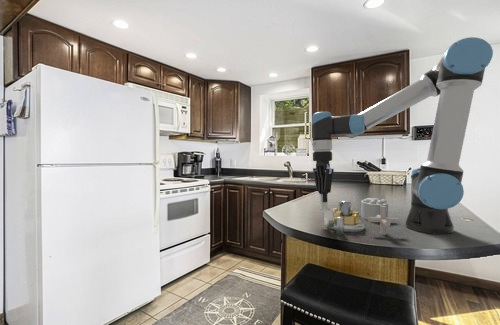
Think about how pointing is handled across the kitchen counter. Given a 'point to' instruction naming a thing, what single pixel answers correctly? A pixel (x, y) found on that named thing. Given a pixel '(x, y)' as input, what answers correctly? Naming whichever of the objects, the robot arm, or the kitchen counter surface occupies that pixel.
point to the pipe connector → (383, 220)
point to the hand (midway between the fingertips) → (323, 209)
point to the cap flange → (346, 211)
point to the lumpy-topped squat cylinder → (372, 207)
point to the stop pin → (340, 225)
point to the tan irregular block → (333, 213)
